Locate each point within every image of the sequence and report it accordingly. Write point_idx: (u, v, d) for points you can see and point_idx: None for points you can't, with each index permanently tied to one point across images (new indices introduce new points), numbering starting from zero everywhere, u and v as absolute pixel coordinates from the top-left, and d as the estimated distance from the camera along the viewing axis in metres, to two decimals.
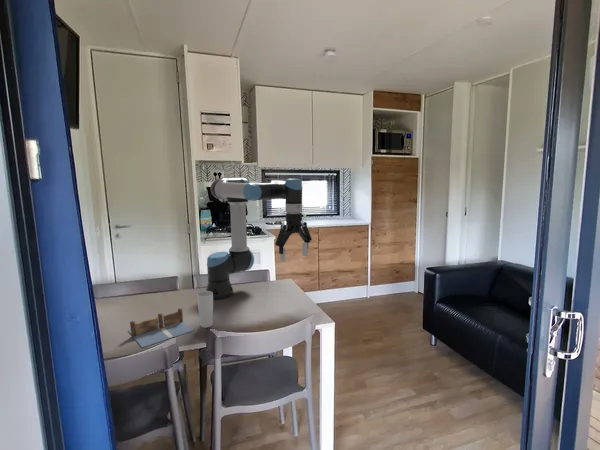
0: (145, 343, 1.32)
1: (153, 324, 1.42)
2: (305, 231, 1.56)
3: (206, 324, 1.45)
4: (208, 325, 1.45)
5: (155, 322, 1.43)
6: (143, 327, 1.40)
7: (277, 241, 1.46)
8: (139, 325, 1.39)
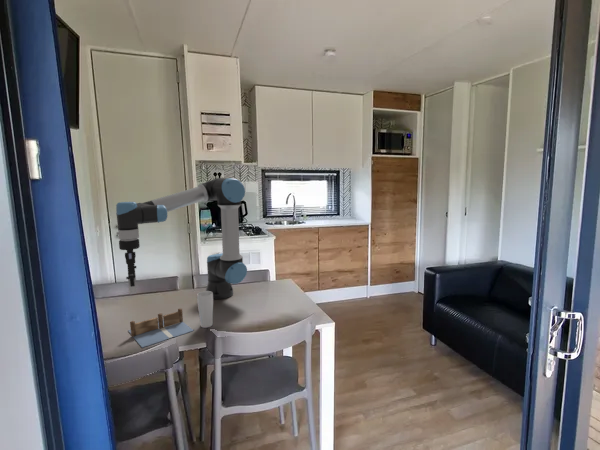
0: (145, 343, 1.32)
1: (153, 324, 1.42)
2: None
3: (206, 324, 1.45)
4: (208, 325, 1.45)
5: (155, 322, 1.43)
6: (143, 327, 1.40)
7: None
8: (139, 325, 1.39)
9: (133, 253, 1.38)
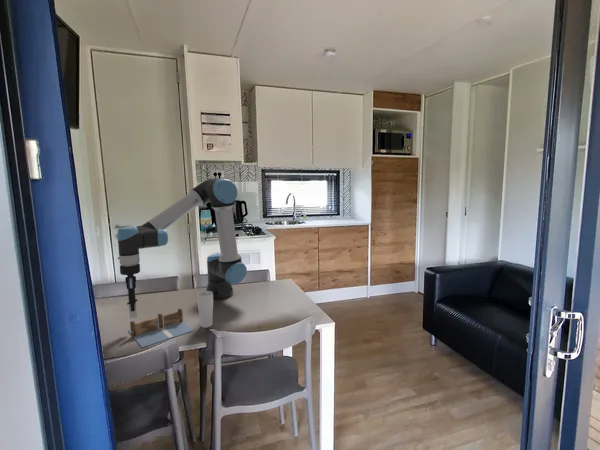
0: (145, 343, 1.32)
1: (153, 324, 1.42)
2: None
3: (206, 324, 1.45)
4: (208, 325, 1.45)
5: (155, 322, 1.43)
6: (143, 327, 1.40)
7: None
8: (139, 325, 1.39)
9: (134, 278, 1.39)
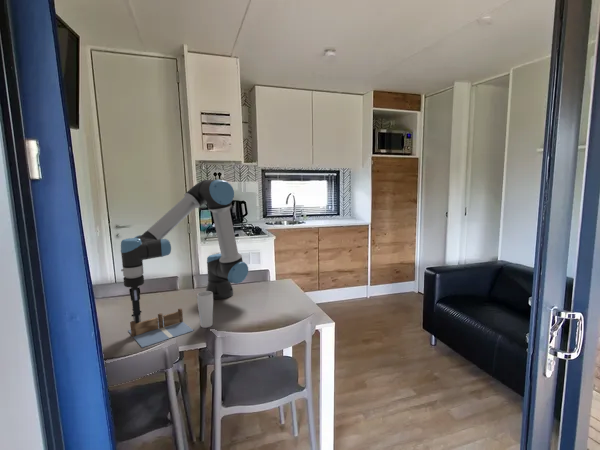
0: (145, 343, 1.32)
1: (153, 324, 1.42)
2: None
3: (206, 324, 1.45)
4: (208, 325, 1.45)
5: (155, 322, 1.43)
6: (143, 327, 1.40)
7: None
8: (139, 325, 1.38)
9: (138, 290, 1.37)
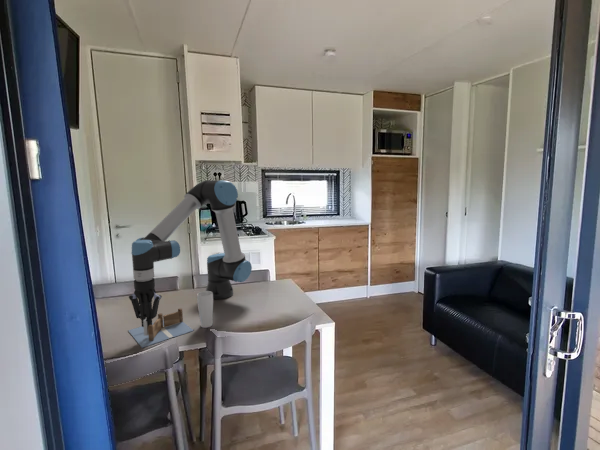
0: (145, 343, 1.32)
1: (159, 325, 1.42)
2: None
3: (206, 324, 1.45)
4: (208, 325, 1.45)
5: (159, 322, 1.43)
6: (155, 329, 1.38)
7: None
8: (154, 328, 1.36)
9: None
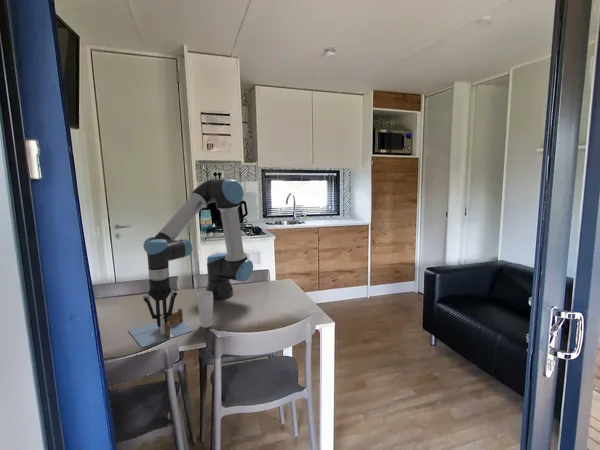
0: (145, 343, 1.32)
1: None
2: (170, 302, 1.37)
3: (206, 324, 1.45)
4: (208, 325, 1.45)
5: None
6: None
7: None
8: None
9: None
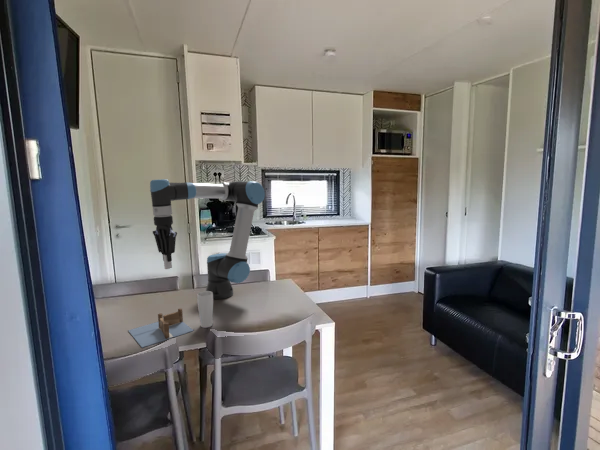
0: (145, 343, 1.32)
1: None
2: None
3: (206, 324, 1.45)
4: (208, 325, 1.45)
5: None
6: None
7: None
8: None
9: None
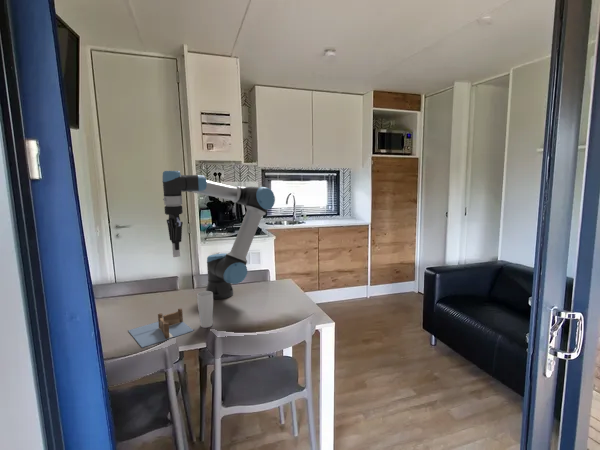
0: (145, 343, 1.32)
1: None
2: None
3: (206, 324, 1.45)
4: (208, 325, 1.45)
5: None
6: None
7: None
8: None
9: None
